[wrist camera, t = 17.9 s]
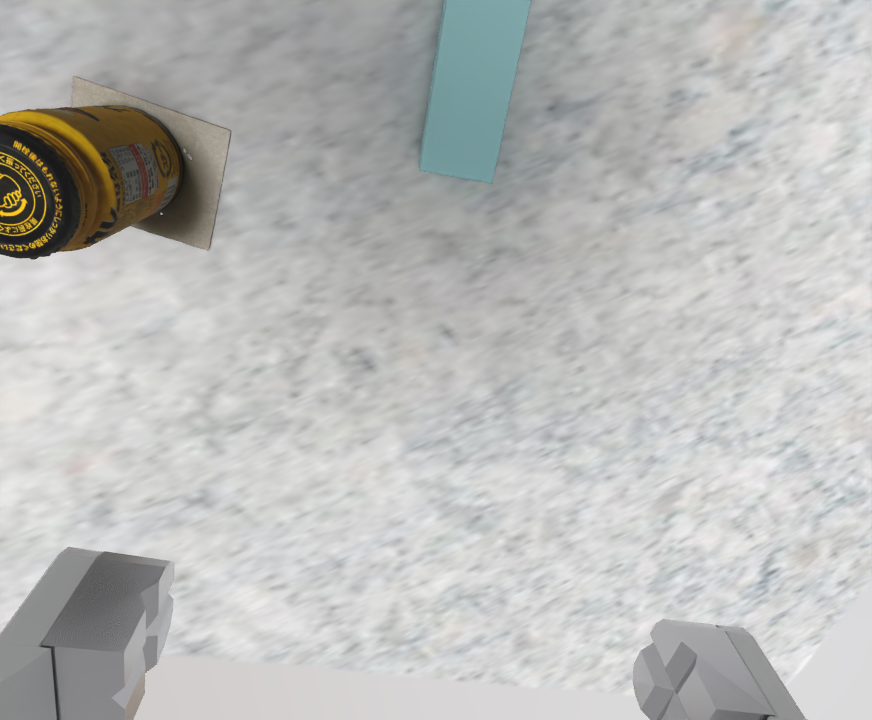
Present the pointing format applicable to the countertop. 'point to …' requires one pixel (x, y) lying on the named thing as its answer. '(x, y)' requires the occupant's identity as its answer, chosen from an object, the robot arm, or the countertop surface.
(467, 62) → the rod
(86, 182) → the condiment
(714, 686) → the robot arm
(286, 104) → the countertop surface
